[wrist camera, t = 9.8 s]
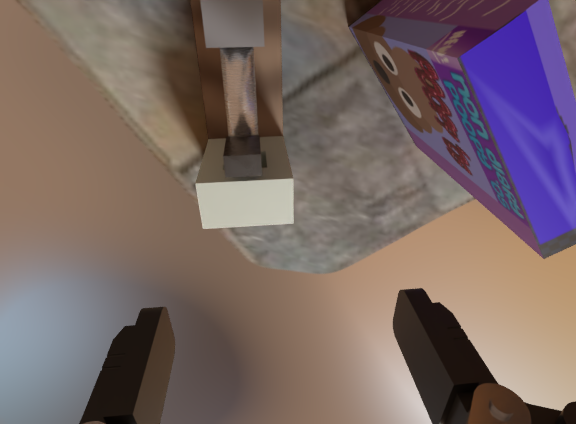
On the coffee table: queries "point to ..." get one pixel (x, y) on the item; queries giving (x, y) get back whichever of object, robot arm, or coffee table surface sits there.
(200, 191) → the socket block
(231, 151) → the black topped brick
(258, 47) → the board
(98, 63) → the coffee table surface
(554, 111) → the cereal box
